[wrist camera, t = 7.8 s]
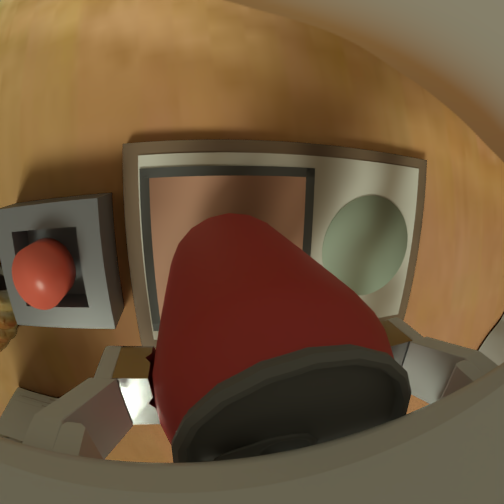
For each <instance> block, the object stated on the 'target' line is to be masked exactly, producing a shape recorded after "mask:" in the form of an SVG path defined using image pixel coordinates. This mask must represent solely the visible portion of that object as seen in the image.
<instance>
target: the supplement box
mask: <svg viewBox="0 0 504 504" xmlns="http://www.w3.org/2000/svg"><path fill="white" fill-rule="evenodd" d="M57 399H58V398H54V397H49V396H46V395H42V394H38V393H35V392H31V391H28V390H25V389H22V388H19V387H18V388H17V389H16V391H15V393H14V394H13V396H12V398H11V399H10V401H9V403H8V405H7V407H6V408H5V410H4V412H3V414H2V416H1V418H0V437H2V438H5V439H8V440H11V441H14V442H18V443H21V444H22V442H23V440H24V438H25V435H26V433H27V430H28V428H29V426H30V423H31V421H32V419H33V417H34V415H35V414H36V413H38V412H39V411H41V410H42V409H44V408H45V407H47V406H48V405H50V404H51V403H53V402H54V401H56V400H57Z"/></svg>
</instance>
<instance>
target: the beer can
mask: <svg viewBox="0 0 504 504" xmlns="http://www.w3.org/2000/svg"><path fill="white" fill-rule="evenodd" d="M152 377H153V388H154V397H155V405H156V409H157V413H158V418H159V422H160V424H161V426H162V428H163V430H164V432H165V434H166V436H167V438H168V440H169V442H170V444H171V445H172V454H173V462H174V463H186V462H207V461H220V460H230V459H239V458H247V457H254V456H261V455H267V454H273V453H279V452H284V451H289V450H294V449H299V448H303V447H307V446H312V445H316V444H320V443H324V442H327V441H331V440H335V439H338V438H342V437H345V436H348V435H352V434H355V433H358V432H361V431H364V430H367V429H370V428H373V427H376V426H378V425H381V424H384V423H387V422H389V421H392V420H394V419H397V418H399V417H402V416H404V415H406V412H407V408H408V404H409V400H410V396H411V387H410V382H409V378H408V373H407V371H406V370H405V369H404V368H403V367H402V366H401V365H400V364H399V363H398V362H396V361H395V360H394V356H393V353H392V349H391V346H390V343H389V340H388V337H387V334H386V331H385V329H384V327H383V325H382V324H381V322H380V320H379V319H378V317H377V316H376V314H375V312H374V311H373V310H372V309H371V308H370V307H369V306H368V305H367V304H366V303H365V302H364V301H363V300H362V299H361V298H360V297H359V296H358V295H357V294H356V293H355V292H354V291H353V290H352V289H351V288H349V287H348V286H347V285H346V284H344V283H343V282H342V281H341V280H339V279H338V278H337V277H336V276H334V275H333V274H332V273H331V272H329V271H328V270H327V269H326V268H324V267H323V266H322V265H320V264H319V263H318V262H317V261H315V260H314V259H313V258H312V257H310V256H309V255H308V254H306V253H305V252H304V251H303V250H301V249H300V248H299V247H297V246H296V245H295V244H294V243H292V242H291V241H290V240H288V239H287V238H286V237H285V236H283V235H282V234H281V233H279V232H278V231H277V230H275V229H274V228H273V227H271V226H270V225H269V224H268V223H266V222H264V221H262V220H259V219H257V218H255V217H252V216H250V215H245V214H234V213H227V214H223V215H218V216H214V217H210V218H208V219H206V220H204V221H203V222H201V223H199V224H198V225H196V226H194V227H193V228H191V229H190V231H189V232H188V233H187V234H186V235H185V236H184V238H183V239H182V240H181V241H180V242H179V244H178V246H177V249H176V251H175V254H174V256H173V259H172V262H171V267H170V271H169V276H168V282H167V287H166V292H165V297H164V303H163V308H162V314H161V320H160V326H159V332H158V338H157V345H156V352H155V359H154V366H153V373H152Z"/></svg>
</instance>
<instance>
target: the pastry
mask: <svg viewBox="0 0 504 504" xmlns="http://www.w3.org/2000/svg"><path fill="white" fill-rule="evenodd" d="M16 334H17V322H16V319H15V316H14V312H13V309H12V306H11V302H10V298H9V295H8V291H7V287H6V283H5V279H4V274H3V270H2V267H1V266H0V352H1V351H2V350H3V349H4V348H6V347H7V345H8V344H9V342H10V340H11V339H13V338H14V337H15V336H16Z"/></svg>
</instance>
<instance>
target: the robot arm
mask: <svg viewBox="0 0 504 504" xmlns="http://www.w3.org/2000/svg"><path fill="white" fill-rule="evenodd" d="M380 322H381V324H382V325H383V327H384V329H385V331H386V334H387V337H388V340H389V343H390V346H391V349H392V353H393V356H394V360H395V361H396V362H398V363H399V364H400V365H401V366H402V367H403V368H404V369H405V370H406V371H407V373H408V378H409V382H410V387H411V394H412V395H414V396H416V397H418V398H420V399H421V400H423V401H425V402H427V403H429V405H427V406H425V407H423V408H421V409H418V410H416V411H414V412H411V413H409V414H407V415H404V416H402V417H399V418H397V419H394V420H392V421H389V422H387V423H384V424H381V425H378V426H376V427H373V428H370V429H367V430H364V431H361V432H358V433H355V434H352V435H348V436H345V437H342V438H338V439H335V440H331V441H327V442H324V443H320V444H316V445H312V446H307V447H303V448H299V449H294V450H289V451H284V452H279V453H273V454H267V455H261V456H254V457H247V458H239V459H230V460H220V461H207V462H186V463H148V462H128V461H115V460H105V458H106V457H107V456H108V454H109V453H110V452H111V451H112V450H113V449H114V447H115V446H116V445H117V444H118V443H119V442H120V440H121V439H122V438H123V437H124V436H125V434H126V433H127V432H128V431H129V430H130V429H131V427H132V426H133V425H132V424H160V422H159V418H158V413H157V409H156V405H155V397H154V388H153V377H152V373H153V366H154V359H155V352H156V350H155V347H154V346H107V347H106V348H105V349H104V352H103V355H102V357H101V360H100V362H99V365H98V368H97V370H96V373H95V376H94V378H88V379H87V380H85V381H84V382H82V383H81V384H79V385H78V386H76V387H75V388H73V389H72V390H70V391H69V392H67V393H66V394H64V395H63V396H61V397H60V398H59V399H57V400H56V401H54V402H53V403H51V404H50V405H48V406H47V407H45V408H44V409H42V410H41V411H39V412H38V413H36V414H35V415H34V417H33V419H32V421H31V423H30V426H29V428H28V430H27V433H26V435H25V438H24V440H23V442H22V444H21V443H18V442H14V441H11V440H8V439H5V438H2V437H0V504H504V315H503V316H502V318H501V320H500V321H499V323H498V324H497V325H496V326H495V328H494V329H493V330H492V331H491V333H490V334H489V335H488V337H487V338H486V340H485V341H484V343H483V344H482V346H481V347H480V349H479V350H478V351H477V350H473V349H469V348H466V347H462V346H458V345H455V344H451V343H447V342H444V341H440V340H437V339H433V338H430V337H423V336H421V335H420V334H419V333H418V332H416V331H415V330H414V329H413V328H411V327H410V326H409V325H408V324H406V323H405V322H404V321H403V320H401V319H400V318H392V319H388V320H384V321H380Z"/></svg>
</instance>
